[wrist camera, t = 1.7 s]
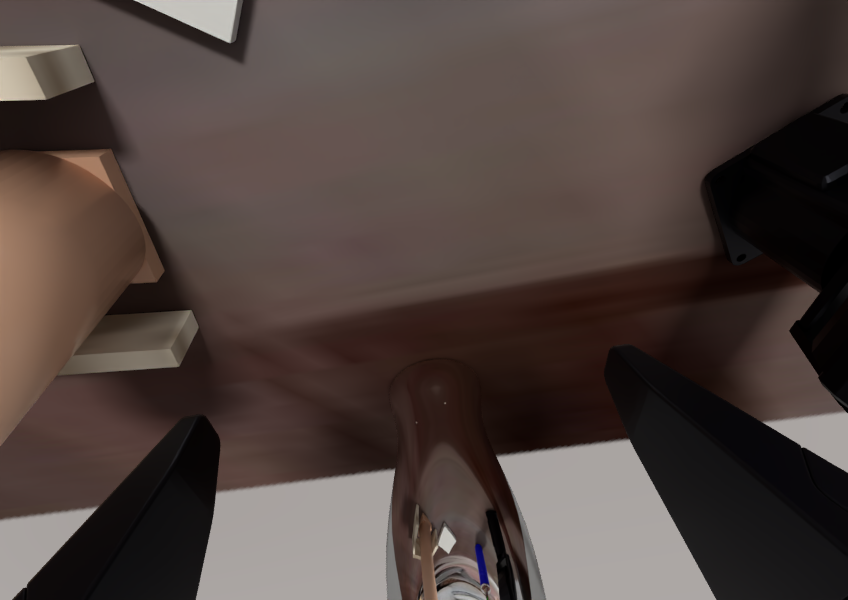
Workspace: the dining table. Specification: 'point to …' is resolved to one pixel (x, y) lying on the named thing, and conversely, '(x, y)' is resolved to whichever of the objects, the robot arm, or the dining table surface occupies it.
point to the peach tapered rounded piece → (61, 263)
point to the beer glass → (452, 497)
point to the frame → (115, 334)
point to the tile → (203, 15)
